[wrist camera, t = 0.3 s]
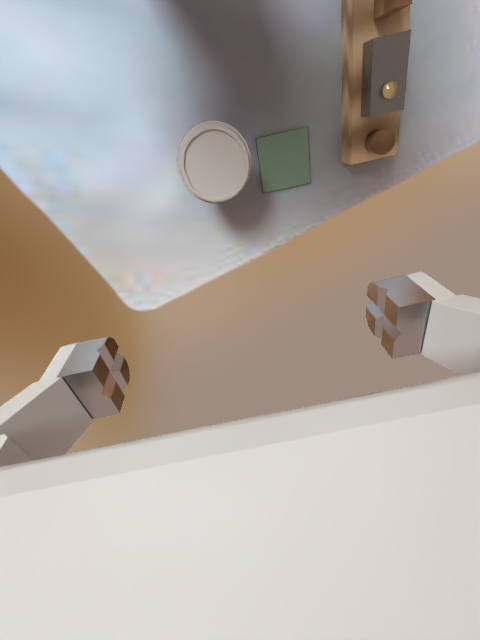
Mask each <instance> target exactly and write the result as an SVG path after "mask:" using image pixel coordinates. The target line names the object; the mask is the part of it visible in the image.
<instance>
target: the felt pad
mask: <svg viewBox="0 0 480 640" xmlns="http://www.w3.org/2000/svg"><path fill="white" fill-rule="evenodd" d="M256 144H257V151H258V158H259V165H260V173H261V180H262V187H263V193H266V192H271V191H275V190H280V189H284V188H289V187H293V186H298V185H302V184H307V183H311V179H310V161H309V143H308V127H304V128H300V129H295V130H291V131H287V132H282V133H278V134H274V135H269V136H265V137H261V138H256Z"/></svg>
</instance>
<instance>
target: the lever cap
mask: <svg viewBox="0 0 480 640" xmlns="http://www.w3.org/2000/svg"><path fill="white" fill-rule="evenodd" d="M410 33H411V30H407V31H403V32H398V33H394V34H390V35H386V36H381V37H377V38H373V39H371V40H369V41H367V42H365V43H363V55H362V90H361V117H373V116H377V115H381V114H386V113H390V112H395V111H399V110H403V108H404V97H405V86H406V76H407V65H408V54H409V44H410Z"/></svg>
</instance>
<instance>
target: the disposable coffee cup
mask: <svg viewBox="0 0 480 640" xmlns="http://www.w3.org/2000/svg"><path fill="white" fill-rule="evenodd" d="M177 167H178V172H179V175H180V178H181V180H182V182H183V184H184V186H185V187H186V188H187V190H188V191H189V192H190V193H191V194H193V195H194V196H195V197H196V198H198V199H200V200H202V201H205V202H209V203H222V202H226V201H229V200H231V199H233V198H234V197H236V196H237V195H238V194H239V193H240V192H241V191H242V190H243V189H244V187H245V185H246V184H247V182H248V179H249V177H250V172H251V154H250V150H249V147H248V145H247V142H246V140H245V139H244V138H243V136H242V135H241V133H240V132H239V131H238V130H237V129H235V128H234V127H233V126H231V125H229V124H227V123H225V122H221V121H217V120H213V121H204V122H201V123H199V124H197V125H195V126H194V127H192V128H191V129H190V130H189V131H188V132H187V133H186V134H185V136H184V137H183V139H182V141H181V143H180V146H179V149H178V154H177Z"/></svg>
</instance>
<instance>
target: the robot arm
mask: <svg viewBox="0 0 480 640" xmlns="http://www.w3.org/2000/svg"><path fill="white" fill-rule="evenodd" d="M367 296H368V297H369V298H370V299H371V300H372V301H371V302H370V303H369V305H368V306H367V307H366V318H367V321H368V325H369V328H370V330H371V331H372V332H373V334H374V335H375V336H377V337H380V338H382V341H381V344H382V346H383V347H384V348H385V350H386V351H387V352H388V354H389V355H390V356H391V357H392V358H397V357H403V356H409V355H414V354H420V353H421V355H423V356H425V357H427V358H429V359H431V360H433V361H435V362H437V363H439V364H440V365H442V366H444V367H446V368H449V369H450V370H452V371H454V372H456V373H458V374H460V375H461V376H456V377H452V378H447V379H442V380H437V381H432V382H427V383H421V384H416V385H411V386H406V387H401V388H396V389H391V390H386V391H381V392H376V393H371V394H366V395H361V396H355V397H351V398H345V399H341V400H335V401H330V402H325V403H320V404H315V405H310V406H305V407H300V408H295V409H290V410H285V411H280V412H275V413H270V414H265V415H260V416H255V417H250V418H245V419H240V420H235V421H230V422H225V423H220V424H214V425H210V426H205V427H200V428H194V429H189V430H184V431H179V432H175V433H169V434H164V435H160V436H154V437H150V438H145V439H139V440H134V441H129V442H124V443H119V444H113V445H108V446H103V447H98V448H94V449H88V450H83V451H78V452H73V453H68V454H65V453H66V452H67V451H68V450H69V449H70V447H71V446H72V445H73V444H74V443H75V442H76V440H77V439H78V438H79V437H80V436H81V434H82V433H83V432H84V431H85V430H86V428H87V427H88V426H89V425H90V424H91V422H92V421H93V420H92V419H96V418H101V417H105V416H109V415H113V414H118V413H120V410H121V407H122V404H123V401H124V397H125V396H124V394H123V392H122V391H123V390H124V389H125V388H126V387H127V386H128V383H129V379H130V374H129V373H130V372H129V367H128V363H127V361H126V359H125V358H124V357H123V356H121V355H119V354H118V353H117V351H118V345H117V343H116V341H115V340H114V339H113V338H111V337H106V338H101V339H96V340H90V341H85V342H80V343H74V344H70V345H65V346H63V347H61V348H60V349H59V351H58V352H57V354H56V355H55V357H54V358H53V360H52V362H51V363H50V365H49V366H48V368H47V370H46V371H45V373H44V374H43V376H42V377H41V379H40V380H39V382H35V383H33V384H31V385H30V386H29V387H27V388H26V389H24V390H23V391H22V392H20V393H19V394H17V395H16V396H15V397H14V398H12V399H11V400H9V401H8V402H6V403H5V404H4V405H3V406H1V407H0V640H480V299H479V298H474V297H470V296H466V295H458V296H456V295H455V294H453V293H452V292H451V291H449V290H448V289H446V288H445V287H443V286H442V285H440V284H439V283H438V282H436V281H435V280H434V279H432V278H431V277H430V276H428V275H427V274H425V273H424V272H419V271H418V272H414V273H411V274H406V275H402V276H398V277H394V278H390V279H385V280H381V281H377V282H373V283H370V284H369V286H368V291H367Z"/></svg>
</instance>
